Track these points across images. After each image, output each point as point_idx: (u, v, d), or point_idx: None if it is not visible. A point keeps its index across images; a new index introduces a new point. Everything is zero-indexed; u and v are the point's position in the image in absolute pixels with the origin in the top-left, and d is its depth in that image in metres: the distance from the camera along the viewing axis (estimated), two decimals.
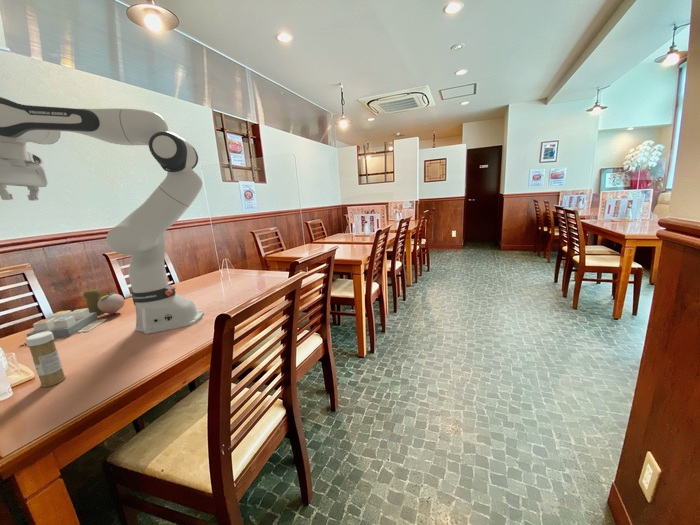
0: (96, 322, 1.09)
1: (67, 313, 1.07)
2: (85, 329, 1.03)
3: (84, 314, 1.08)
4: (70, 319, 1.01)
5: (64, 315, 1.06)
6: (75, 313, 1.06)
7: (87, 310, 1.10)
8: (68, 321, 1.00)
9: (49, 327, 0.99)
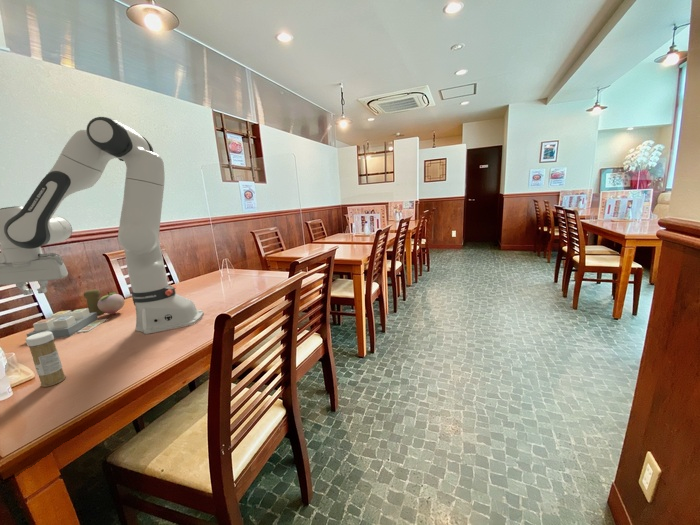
0: (96, 322, 1.09)
1: (67, 313, 1.07)
2: (85, 329, 1.03)
3: (84, 314, 1.08)
4: (70, 319, 1.01)
5: (64, 315, 1.06)
6: (75, 313, 1.06)
7: (87, 310, 1.10)
8: (68, 321, 1.00)
9: (49, 327, 0.99)
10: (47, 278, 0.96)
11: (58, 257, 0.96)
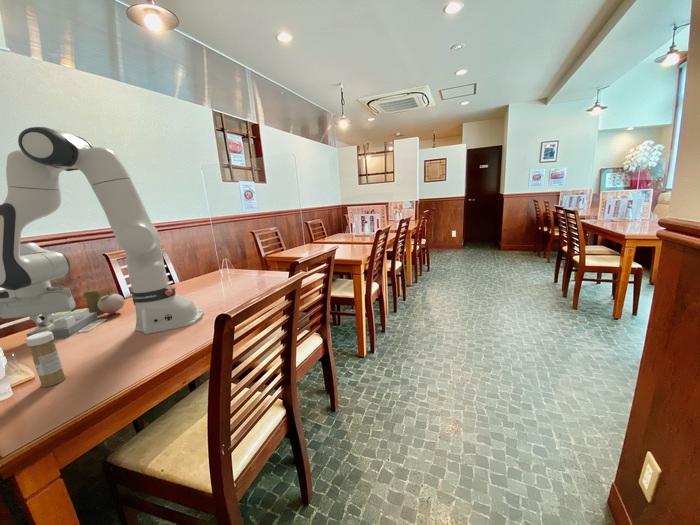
0: (96, 322, 1.09)
1: (67, 313, 1.07)
2: (85, 329, 1.03)
3: (84, 314, 1.08)
4: (70, 319, 1.01)
5: (64, 315, 1.06)
6: (75, 313, 1.06)
7: (87, 310, 1.10)
8: (68, 321, 1.00)
9: None
10: (55, 311, 0.98)
11: (66, 290, 0.99)
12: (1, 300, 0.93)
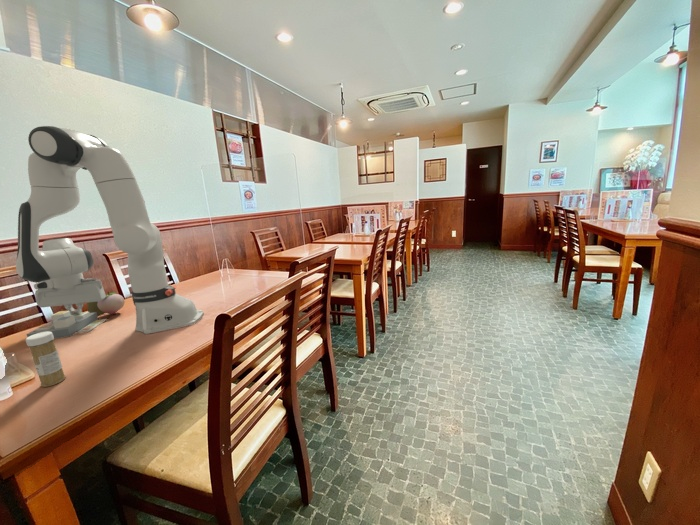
0: (96, 322, 1.09)
1: (67, 313, 1.07)
2: (85, 329, 1.03)
3: None
4: (70, 319, 1.01)
5: (64, 315, 1.06)
6: (76, 317, 1.07)
7: (88, 313, 1.10)
8: (68, 321, 1.00)
9: None
10: (88, 301, 1.06)
11: (98, 282, 1.07)
12: (40, 290, 1.01)
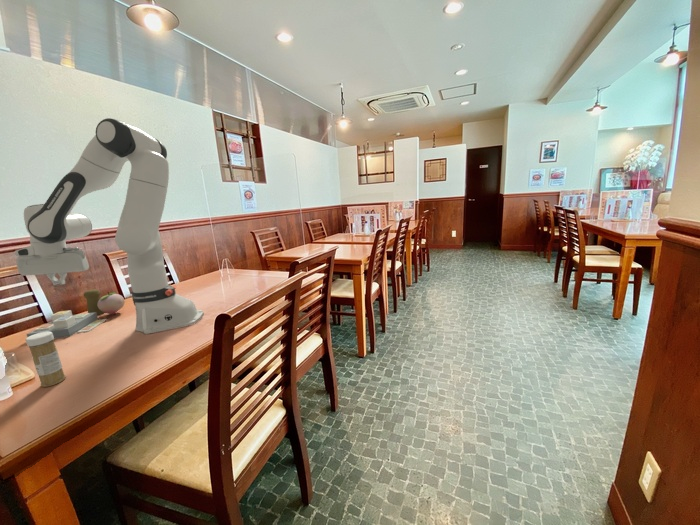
0: (96, 322, 1.09)
1: (67, 313, 1.07)
2: (85, 329, 1.03)
3: None
4: (70, 319, 1.01)
5: (64, 315, 1.06)
6: (76, 318, 1.07)
7: (88, 315, 1.10)
8: (68, 321, 1.00)
9: None
10: (70, 270, 1.04)
11: (81, 251, 1.05)
12: (21, 257, 0.99)
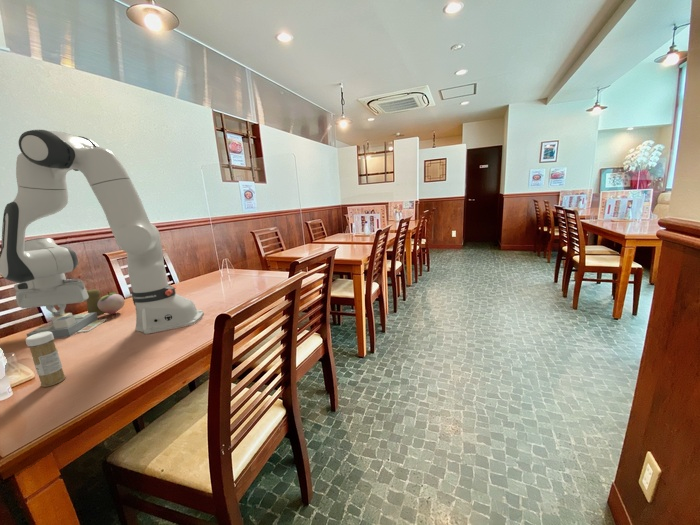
0: (96, 322, 1.09)
1: None
2: (85, 329, 1.03)
3: None
4: (70, 319, 1.01)
5: None
6: (76, 318, 1.07)
7: (88, 315, 1.10)
8: (68, 321, 1.00)
9: None
10: (70, 302, 1.05)
11: (80, 282, 1.06)
12: (20, 291, 1.00)
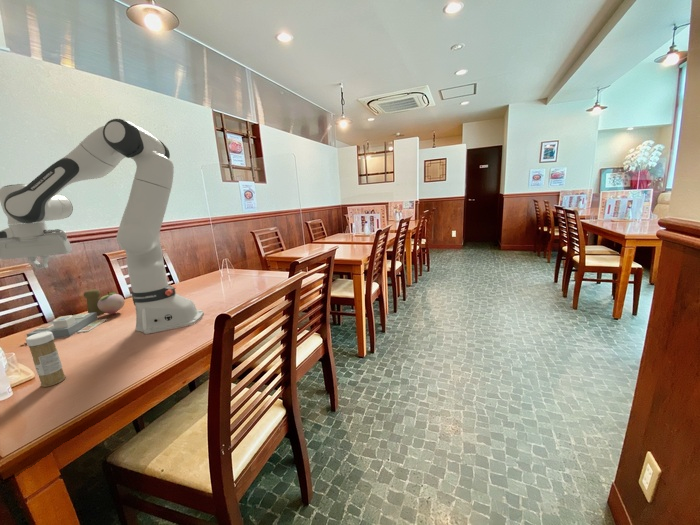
0: (96, 322, 1.09)
1: None
2: (85, 329, 1.03)
3: None
4: (70, 319, 1.01)
5: None
6: (76, 318, 1.07)
7: (88, 315, 1.10)
8: (68, 321, 1.00)
9: None
10: (52, 253, 1.01)
11: (62, 233, 1.02)
12: (0, 240, 0.96)
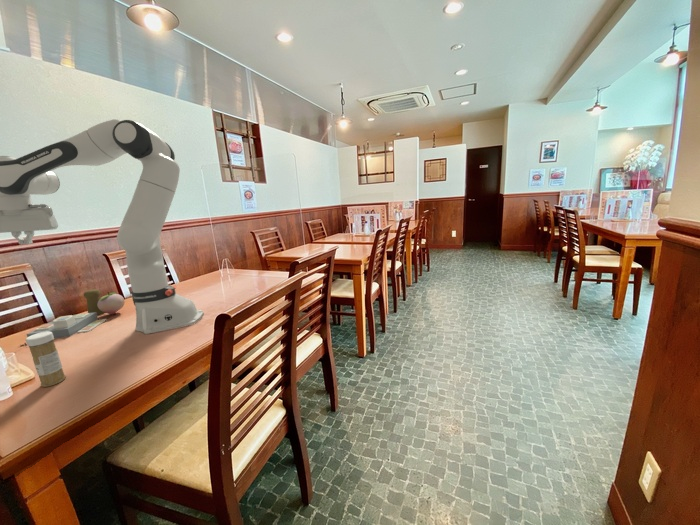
0: (96, 322, 1.09)
1: None
2: (85, 329, 1.03)
3: None
4: (70, 319, 1.01)
5: None
6: (76, 318, 1.07)
7: (88, 315, 1.10)
8: (68, 321, 1.00)
9: None
10: (37, 228, 0.99)
11: (48, 208, 0.99)
12: None
